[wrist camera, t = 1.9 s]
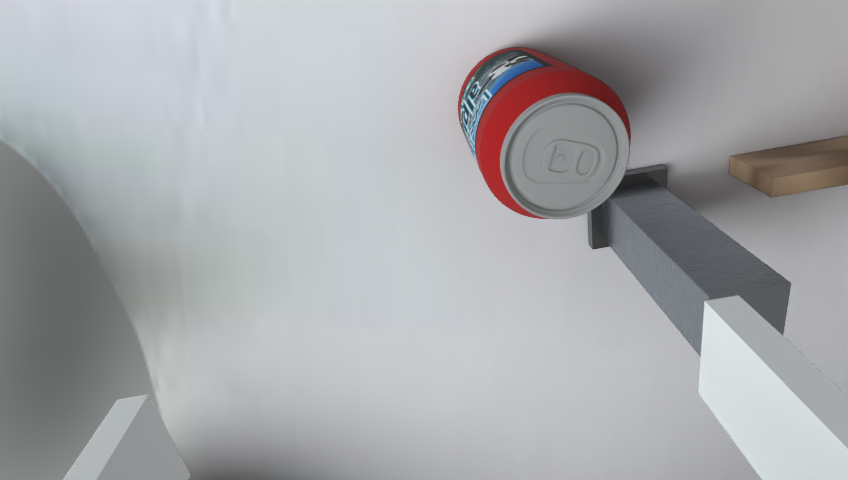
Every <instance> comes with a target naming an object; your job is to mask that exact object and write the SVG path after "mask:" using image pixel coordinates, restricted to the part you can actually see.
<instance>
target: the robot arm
mask: <svg viewBox="0 0 848 480" xmlns="http://www.w3.org/2000/svg"><path fill="white" fill-rule="evenodd" d="M698 393H699V395H700V396H701V397H702V399H703V400H704V401H705V403H706V404H707V405H708V407H709V408H710V410H711V411H712V412H713V414H714V415H715V416H716V418H717V419H718V420H719V422H720V423H721V425H722V426H723V427H724V429H725V430H726V431H727V433H728V434H729V435H730V437H731V438H732V440H733V441H734V442H735V444H736V445H737V446H738V448H739V449H740V450H741V452H742V453H743V455H744V456H745V457H746V459H747V460H748V461H749V463H750V464H751V465H752V467H753V468H754V470H755V471H756V472H757V474H758V475H759V476H760V478H761V479H762V480H848V395H847V394H846V393H845V392H844V391H843V390H842V389H841V388H839V387H838V386H837V385H836V384H835V383H834V382H833V381H832V380H831V379H830V378H829V377H827V376H826V375H825V374H824V373H823V372H822V371H821V370H820V369H819V368H818V367H816V366H815V365H814V364H813V363H812V362H811V361H810V360H809V359H808V358H807V357H806V356H804V355H803V354H802V353H801V352H800V351H799V350H798V349H797V348H796V347H795V346H794V345H792V344H791V343H790V342H789V341H788V340H787V339H786V338H785V337H784V336H783V335H781V334H780V333H779V332H778V331H777V330H776V329H775V328H774V327H773V326H772V325H771V324H769V323H768V322H767V321H766V320H765V319H764V318H763V317H762V316H761V315H760V314H758V313H757V312H756V311H755V310H754V309H753V308H752V307H751V306H750V305H749V304H748V303H746V302H745V301H744V300H743V299H742V298H741V297H740V296H739V295H737V296H731V297H725V298H719V299H713V300H707V301H705V302H704V316H703V331H702V345H701V360H700V374H699V389H698ZM190 476H191V474H190V472H189V471H188V469H187V467H186V465H185V463H184V461H183V459H182V457H181V455H180V453H179V452H178V450H177V448H176V446H175V444H174V442H173V440H172V438H171V436H170V434H169V432H168V431H167V429H166V427H165V425H164V423H163V421H162V419H161V417H160V415H159V413H158V412H157V410H156V408H155V406H154V404H153V402H152V400H151V398H150V396H149V394H148V395H142V396H137V397H130V398H124V399H118V400H117V401H116V403H115V404H114V405H113V407H112V409H111V410H110V411H109V413H108V414H107V416H106V417H105V419H104V420H103V421H102V423H101V424H100V426H99V427H98V429H97V430H96V432H95V433H94V435H93V436H92V438H91V439H90V441H89V442H88V444H87V445H86V447H85V448H84V449H83V451H82V452H81V454H80V455H79V457H78V458H77V460H76V461H75V463H74V464H73V466H72V467H71V469H70V470H69V471H68V473H67V474H66V476H65V477H64V479H63V480H189V478H190Z"/></svg>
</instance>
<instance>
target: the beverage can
mask: <svg viewBox="0 0 848 480" xmlns="http://www.w3.org/2000/svg"><path fill="white" fill-rule="evenodd" d="M458 115H459V121H460V124H461V127H462V130H463V132H464V135H465V137H466V140H467V142H468V145H469V147H470V149H471V152H472V154H473V156H474V158H475V160H476V163H477V165H478V167H479V169H480V171H481V173H482V175H483V177H484V179H485V181H486V183H487V185H488V187H489V189H490V190H491V192H492V193H493V194H494V196H495V197H496V198H497V199H498V200H499V201H500V202H501V203H502V204H504V205H505V206H506V207H508V208H509V209H511V210H513V211H515V212H517V213H519V214H522V215H525V216H528V217H533V218H540V219H567V218H572V217H576V216H580V215H582V214H585V213H587V212H589V211H591V210H593V209H594V208H596V207H598V206H599V205H600V204H602V203H603V202H604V201H605V200H606V199H608V198H609V196H610V195H611V194H612V193H613V192H614V191H615V190H616V188H617V187H618V185H619V184H620V182H621V180H622V178H623V176H624V174H625V171H626V169H627V165H628V161H629V153H630V139H631V135H630V125H629V120H628V116H627V113H626V110H625V108H624V106H623V104H622V102H621V100H620V99H619V97H618V96H617V95H616V94H615V92H614V91H613V90H612V89H611V88H610V87H609V86H607V85H606V84H605V83H603V82H602V81H600V80H599V79H597V78H595V77H593V76H591V75H589V74H587V73H585V72H583V71H581V70H579V69H577V68H575V67H573V66H570V65H568V64H566V63H564V62H562V61H560V60H557V59H555V58H553V57H550V56H548V55H546V54H543V53H540V52H538V51H535V50H532V49H528V48H519V47H516V48H507V49H503V50H500V51H497V52H495V53H492V54H490V55H489V56H487V57H486V58H484V59H483V60H481V61H480V62H479V63H478V64H477V65H476V66H475V67H474V68H473V69H472V70H471V72H470V73H469V75H468V76H467V78H466V80H465V81H464V84H463V86H462V89H461V91H460V95H459V101H458Z"/></svg>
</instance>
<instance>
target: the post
mask: <svg viewBox="0 0 848 480" xmlns="http://www.w3.org/2000/svg"><path fill="white" fill-rule="evenodd" d="M588 239H589V245H590V247H591V248H592V249H598V248H604V247H609V246H610V247H611V248H612V249H613V251H614V252H615V253H616V254H617V255H618V257H619V258H620V259H621V260H622V262H623V263H624V264H625V265H626V266H627V268H628V269H629V270H630V271H631V273H632V274H633V275H634V276H635V277H636V279H637V280H638V281H639V282H640V284H641V285H642V286H643V287H644V288H645V290H646V291H647V292H648V293H649V295H650V296H651V297H652V298H653V299H654V301H655V302H656V303H657V304H658V305H659V307H660V308H661V309H662V310H663V312H664V313H665V314H666V315H667V316H668V318H669V319H670V320H671V321H672V323H673V324H674V325H675V326H676V327H677V329H678V330H679V331H680V332H681V334H682V335H683V336H684V337H685V338H686V340H687V341H688V342H689V343H690V345H691V346H692V347H693V348H694V349H695V351H696V352H697V353H698V354H699V355H700V357H701V345H702V331H703V316H704V302H705V301H707V300H713V299H719V298H725V297H731V296H737V295H739V296H740V297H741V298H742V299H743V300H744V301H745V302H746V303H748V304H749V305H750V306H751V307H752V308H753V309H754V310H755V311H756V312H757V313H758V314H760V315H761V316H762V317H763V318H764V319H765V320H766V321H767V322H768V323H769V324H771V325H772V326H773V327H774V328H775V329H776V330H777V331H778V332H779V333H780V334H781V335H783V332H784V326H785V319H786V313H787V306H788V300H789V293H790V287H791V283H790V282H789V281H788V280H786V279H785V278H784V277H782V276H781V275H780V274H778V273H777V272H776V271H774V270H773V269H772V268H770V267H769V266H768V265H766V264H765V263H764V262H762V261H761V260H760V259H758V258H757V257H756V256H754V255H753V254H752V253H750V252H749V251H748V250H746V249H745V248H744V247H742V246H741V245H740V244H738V243H737V242H736V241H734V240H733V239H732V238H730V237H729V236H728V235H726V234H725V233H724V232H722V231H721V230H720V229H718V228H717V227H716V226H714V225H713V224H712V223H710V222H709V221H708V220H706V219H705V218H704V217H702V216H701V215H700V214H699V213H697V212H696V211H695V210H693V209H692V208H691V207H689V206H688V205H687V204H685V203H684V202H683V201H681V200H680V199H679V198H677V197H676V196H675V195H673V194H672V193H671V192H669V191H668V190H667V168H666V167H665V166H663V165H662V164H661V165H656V166H650V167H644V168H639V169H633V170H627V171H625V174H624V176H623V178H622V180H621V182H620V184H619V185H618V187H617V188H616V190H615V191H614V192H613V193H612V194H611V195H610V196H609V198H608V199H606V200H605V201H604V202H603V203H602V204H600V205H599V206H598V207H596V208H594V209H593V210H591V211H589V212H588Z"/></svg>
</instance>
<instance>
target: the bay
mask: <svg viewBox="0 0 848 480" xmlns="http://www.w3.org/2000/svg"><path fill="white" fill-rule="evenodd" d="M729 174H731V175H732V176H734V177H736V178H738V179H740V180H741V181H743V182H745V183H747V184H748V185H750V186H752V187H754V188H756V189H757V190H759V191H761V192H763V193H764V194H766V195H768V196H770V197H777V196H783V195H789V194H795V193H801V192H806V191H812V190H818V189H824V188H830V187H836V186H841V185H847V184H848V136H843V137H837V138H831V139H826V140H820V141H814V142H809V143H803V144H797V145H791V146H786V147H780V148H774V149H769V150H763V151H757V152H751V153H746V154H740V155H734V156H730V164H729Z"/></svg>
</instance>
